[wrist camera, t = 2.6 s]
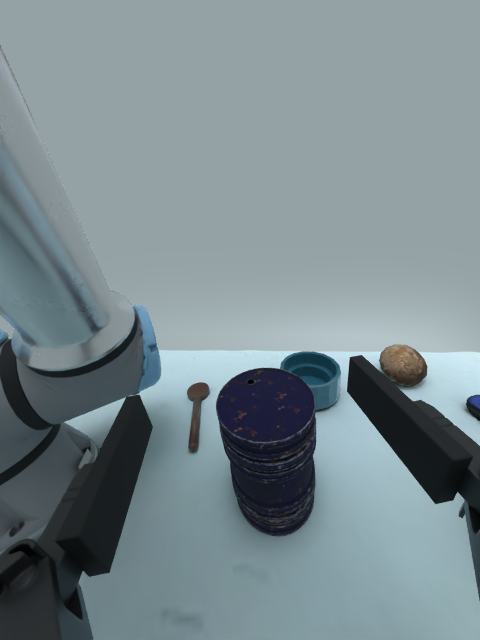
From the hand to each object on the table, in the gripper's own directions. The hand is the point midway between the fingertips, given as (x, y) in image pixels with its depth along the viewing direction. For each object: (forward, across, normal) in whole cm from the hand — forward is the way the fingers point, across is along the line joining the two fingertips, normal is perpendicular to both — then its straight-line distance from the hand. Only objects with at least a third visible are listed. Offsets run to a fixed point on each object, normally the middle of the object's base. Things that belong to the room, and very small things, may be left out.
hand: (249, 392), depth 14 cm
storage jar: (+6, +2, -22) cm, 22 cm away
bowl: (+21, +12, -21) cm, 32 cm away
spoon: (+21, -9, -21) cm, 31 cm away
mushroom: (+20, +30, -22) cm, 42 cm away
